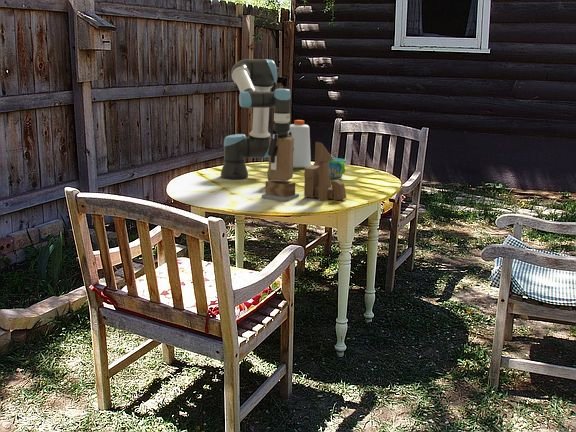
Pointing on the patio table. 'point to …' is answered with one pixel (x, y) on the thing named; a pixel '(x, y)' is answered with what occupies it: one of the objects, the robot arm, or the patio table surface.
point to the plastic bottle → (301, 144)
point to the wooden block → (283, 160)
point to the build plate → (279, 197)
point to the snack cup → (337, 167)
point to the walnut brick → (280, 188)
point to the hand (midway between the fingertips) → (280, 167)
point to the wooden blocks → (322, 178)
